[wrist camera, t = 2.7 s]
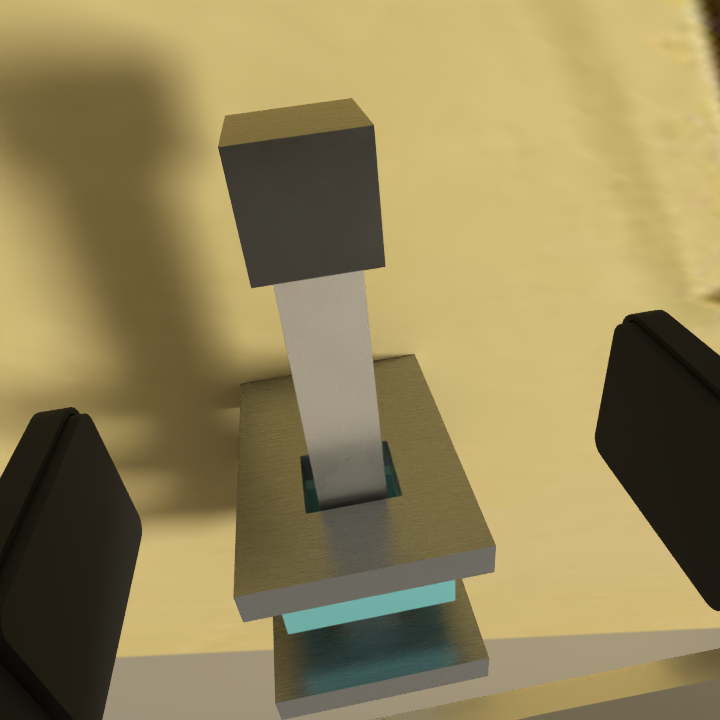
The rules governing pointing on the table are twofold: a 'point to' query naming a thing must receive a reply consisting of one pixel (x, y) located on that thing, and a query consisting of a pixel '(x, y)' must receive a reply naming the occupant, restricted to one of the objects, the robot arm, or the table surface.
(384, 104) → the table surface
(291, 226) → the shaft
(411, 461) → the pair of grey plates
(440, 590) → the spacer
